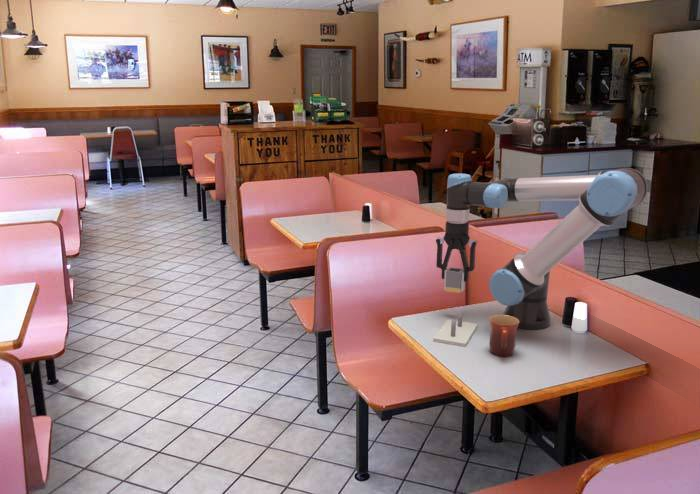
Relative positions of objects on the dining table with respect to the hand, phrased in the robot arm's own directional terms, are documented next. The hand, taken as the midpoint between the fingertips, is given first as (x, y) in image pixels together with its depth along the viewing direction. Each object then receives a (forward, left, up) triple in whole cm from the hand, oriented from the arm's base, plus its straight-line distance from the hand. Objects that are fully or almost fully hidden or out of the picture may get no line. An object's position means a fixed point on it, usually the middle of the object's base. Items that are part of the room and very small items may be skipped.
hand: (454, 289), depth 213 cm
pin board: (-4, +14, -10) cm, 18 cm away
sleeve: (0, 0, 0) cm, 0 cm away
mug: (-20, +24, -10) cm, 33 cm away
